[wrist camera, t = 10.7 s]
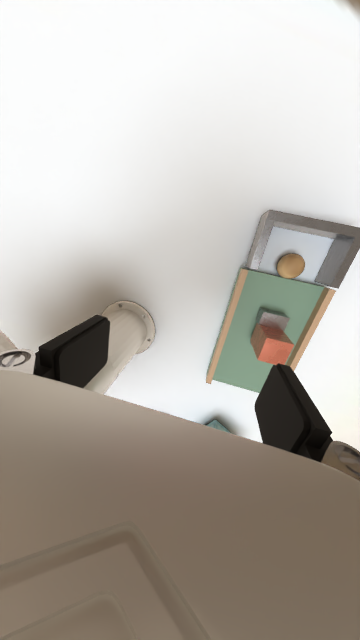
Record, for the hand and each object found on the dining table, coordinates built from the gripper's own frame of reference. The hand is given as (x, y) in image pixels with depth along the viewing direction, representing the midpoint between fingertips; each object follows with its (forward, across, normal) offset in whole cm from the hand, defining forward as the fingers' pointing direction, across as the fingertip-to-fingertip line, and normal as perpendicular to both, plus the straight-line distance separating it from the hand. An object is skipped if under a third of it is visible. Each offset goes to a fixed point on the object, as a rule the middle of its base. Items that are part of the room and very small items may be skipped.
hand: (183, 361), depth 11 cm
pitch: (+28, -13, +8) cm, 32 cm away
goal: (+28, -13, -8) cm, 32 cm away
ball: (+26, -13, -6) cm, 30 cm away
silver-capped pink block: (+26, -13, +6) cm, 30 cm away
